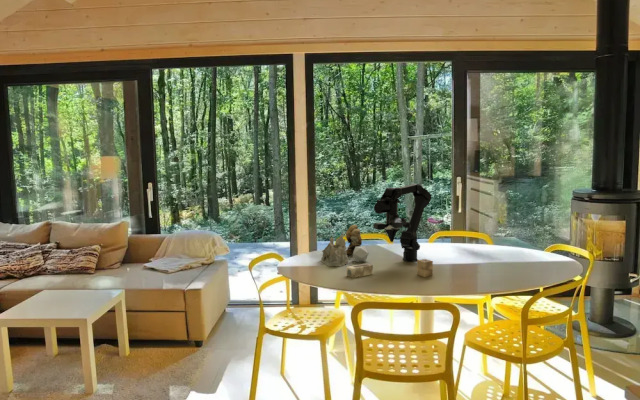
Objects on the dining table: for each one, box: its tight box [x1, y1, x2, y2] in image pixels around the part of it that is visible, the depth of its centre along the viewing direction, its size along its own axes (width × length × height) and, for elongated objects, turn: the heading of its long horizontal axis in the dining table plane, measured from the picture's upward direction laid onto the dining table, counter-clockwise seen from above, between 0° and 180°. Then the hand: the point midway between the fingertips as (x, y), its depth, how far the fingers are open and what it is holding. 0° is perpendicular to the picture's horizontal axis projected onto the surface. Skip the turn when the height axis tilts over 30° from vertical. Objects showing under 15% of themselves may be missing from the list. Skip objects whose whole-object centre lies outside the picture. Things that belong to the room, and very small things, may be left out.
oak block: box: [416, 258, 434, 278], centre depth 215 cm, size 5×5×7 cm
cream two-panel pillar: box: [346, 263, 374, 279], centre depth 217 cm, size 5×4×12 cm
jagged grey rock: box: [320, 234, 349, 267], centre depth 242 cm, size 16×16×15 cm
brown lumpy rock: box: [345, 224, 363, 257], centre depth 262 cm, size 18×12×17 cm, turn 1°
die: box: [352, 246, 369, 263], centre depth 244 cm, size 8×9×10 cm
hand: (391, 241), depth 235 cm, fingers closed
